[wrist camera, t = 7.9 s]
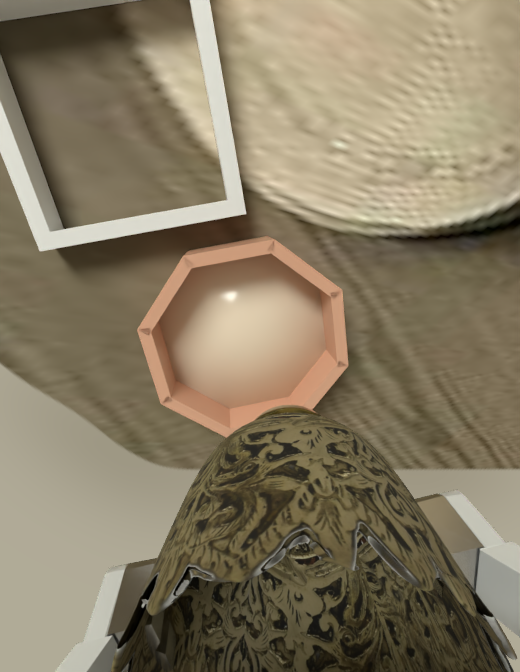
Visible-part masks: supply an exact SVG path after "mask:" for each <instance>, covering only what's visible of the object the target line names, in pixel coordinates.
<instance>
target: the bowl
mask: <svg viewBox="0 0 520 672" xmlns="http://www.w3.org/2000/svg"><path fill="white" fill-rule="evenodd" d="M137 331H138V334H139V337H140V340H141V343H142V346H143V349H144V352H145V356H146V359H147V362H148V365H149V368H150V371H151V374H152V377H153V380H154V384H155V387H156V390H157V393H158V396H159V399H160V402H161V404H162V405H164V406H166V407H168V408H170V409H172V410H174V411H176V412H178V413H180V414H182V415H183V416H185V417H187V418H189V419H191V420H193V421H195V422H197V423H199V424H201V425H203V426H205V427H207V428H209V429H211V430H213V431H215V432H217V433H219V434H221V435H223V436H225V437H228V436H229V435H231V434H232V433H233V432H234V431H236V430H237V429H239V428H241V427H242V426H244V425H246V424H248V423H250V422H252V421H254V420H255V419H256V418H257V417H258V416H259V415H261V414H262V413H263V412H265V411H266V410H269V409H271V408H273V407H276V406H281V405H299V406H303V407H306V408H309V409H311V410H312V409H313V408H314V407H315V406H316V404H317V403H318V402H319V401H320V400H321V398H322V397H323V396H324V395H325V394H326V392H327V391H328V390H329V389H330V387H331V386H332V385H333V384H334V383H335V381H336V380H337V379H338V378H339V377H340V375H341V374H342V373H343V372H344V370H345V369H346V368H347V367H348V354H347V342H346V330H345V318H344V305H343V293H342V289H340V288H339V287H338V286H336V285H335V284H334V283H332V282H331V281H330V280H328V279H327V278H326V277H324V276H323V275H321V274H320V273H319V272H317V271H316V270H315V269H313V268H312V267H311V266H309V265H308V264H307V263H305V262H304V261H303V260H301V259H300V258H299V257H297V256H296V255H295V254H293V253H292V252H291V251H289V250H288V249H287V248H285V247H284V246H283V245H281V244H280V243H279V242H277V241H276V240H275V239H272V238H270V237H268V236H264V237H259V238H253V239H248V240H242V241H237V242H231V243H226V244H221V245H215V246H210V247H204V248H199V249H194V250H189V251H188V252H187V253H186V254H185V255H184V256H183V257H182V259H181V260H180V262H179V264H178V265H177V267H176V268H175V270H174V272H173V273H172V275H171V276H170V278H169V280H168V281H167V283H166V284H165V286H164V288H163V289H162V291H161V292H160V294H159V296H158V297H157V299H156V301H155V302H154V304H153V305H152V307H151V309H150V310H149V312H148V313H147V315H146V317H145V318H144V320H143V321H142V323H141V325H140V326H139V328H138V329H137Z"/></svg>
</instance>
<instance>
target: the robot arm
mask: <svg viewBox="0 0 520 672" xmlns="http://www.w3.org/2000/svg"><path fill="white" fill-rule="evenodd" d="M415 501H416V502H417V504H418V505H419V507H420V508H421V510H422V511H423V513H424V514H425V516H426V517H427V519H428V520H429V522H430V523H431V525H432V526H433V528H434V529H435V531H436V532H437V534H438V535H439V537H440V538H441V540H442V541H443V543H444V544H445V546H446V547H447V549H448V550H449V552H450V554H451V555H452V557H453V558H454V560H455V561H456V563H457V564H458V566H459V567H460V569H461V570H462V572H463V573H464V575H465V576H466V578H467V580H468V581H469V583H470V584H471V586H472V587H473V589H474V590H475V592H476V593H477V594H478V596H479V597H480V599H481V600H482V602H483V603H484V604H485V606H486V607H487V608H488V609H489V611H490V612H491V613H492V614H493V615H494V617H495V618H496V619H498V620H499V621H500V622H501V623H503V624H504V625H505V626H506V627H508V628H509V629H510V630H511V631H513V632H514V633H515V634H516V635H518V636H519V637H520V546H519V545H518V544H516V543H514V542H505V541H504V540H503V539H502V537H501V536H500V535H499V534H498V533H497V532H496V531H495V530H494V528H493V527H492V526H491V525H490V524H489V523H488V522H487V520H486V519H485V518H484V517H483V516H482V515H481V514H480V513H479V511H478V510H477V509H476V508H475V507H474V506H473V505H472V503H470V501H469V500H468V499H467V498H466V497H465V495H464V494H463V493H462V492H460V491H459V490H453V491H449V492H445V493H440V494H434V495H430V496H425V497H421V498H417V499H415ZM156 561H157V558H155V559H150V560H145V561H139V562H134V563H129V564H125V565H120V566H115V567H111V568H109V570H108V571H107V573H106V574H105V576H104V579H103V582H102V585H101V589H100V592H99V595H98V598H97V601H96V604H95V607H94V610H93V613H92V616H91V619H90V622H89V625H88V628H87V631H86V634H85V637H84V640H83V642H80V643H77V644H76V645H75V647H74V648H73V649H72V650H71V651H70V653H69V654H68V655H67V657H66V658H65V659H64V661H63V662H62V663H61V664H60V666H59V667H58V668H57V669H56V671H55V672H111V668H112V663H113V659H114V655H115V652H116V648H117V645H118V643H119V641H120V639H121V637H122V635H123V634H124V632H125V630H126V628H127V626H128V624H129V622H130V620H131V618H132V615H133V613H134V611H135V609H136V607H137V604H138V602H139V599H140V597H141V595H142V592H143V590H144V588H145V586H146V583H147V581H148V579H149V576H150V574H151V572H152V570H153V567H154V565H155V563H156ZM157 577H158V574H157ZM157 577H156V580H155V585H156V581H157ZM155 585H154V586H152V589H151V591H150V594H149V596H148V598H147V600H149V598H150V596H151V594H152V592H153V589H154V587H155ZM434 588H435V589H436V591H437V592H438V594H439V595H440V597H441V598H442V596H443V591H444V584H443V582H441V581H440V580H438V579H435V582H434ZM146 605H147V604H145V606H144V608H143V611H142V613H141V615H140V618H139V620H138V623H137V625H136V628H135V630H136V629H137V627H138V625H139V623H140V621H141V619H142V617H143V614H144V612H145V610H146ZM164 612H165V610H163V611H162V612H160V613H159V614H157V615H150V614H149V617H148V619H147V622H146V625H145V632H146V639H147V643H148V646H149V649H150V651H151V653H152V655H153V657H154V658H155V660H156V661H157V663H158V664H159V665H160V666H161V668H162V669H163V670H164V671H165V672H170V671H173V664H174V655H175V646H176V635H175V633H174V630H173V628H172V625H171V623H170V621H169V619H168V617H167V615H165V617H164Z"/></svg>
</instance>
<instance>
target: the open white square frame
mask: <svg viewBox="0 0 520 672" xmlns="http://www.w3.org/2000/svg"><path fill="white" fill-rule="evenodd" d="M133 1H140V0H0V21H7V20H13V19H20V18H26V17H33V16H40V15H46V14H53V13H60V12H66V11H73V10H80V9H86V8H93V7H100V6H106V5H113V4H120V3H126V2H133ZM189 2H190V8H191V13H192V18H193V24H194V29H195V34H196V39H197V45H198V50H199V55H200V61H201V66H202V71H203V76H204V82H205V87H206V92H207V97H208V103H209V108H210V113H211V119H212V124H213V129H214V134H215V140H216V145H217V150H218V156H219V161H220V166H221V171H222V177H223V182H224V187H225V193H226V198H227V200H225V201H219V202H214V203H208V204H203V205H197V206H191V207H186V208H180V209H175V210H169V211H164V212H158V213H152V214H147V215H141V216H136V217H130V218H124V219H119V220H113V221H108V222H102V223H96V224H91V225H85V226H80V227H74V228H69V229H64V228H63V225H62V222H61V220H60V217H59V214H58V211H57V209H56V206H55V203H54V200H53V198H52V195H51V192H50V189H49V187H48V184H47V181H46V178H45V176H44V173H43V170H42V167H41V165H40V162H39V159H38V156H37V154H36V151H35V148H34V145H33V143H32V140H31V137H30V134H29V132H28V129H27V126H26V123H25V121H24V118H23V115H22V112H21V110H20V107H19V104H18V101H17V98H16V96H15V93H14V90H13V87H12V85H11V82H10V79H9V76H8V74H7V71H6V68H5V65H4V63H3V60H2V57H1V54H0V152H1V155H2V157H3V160H4V162H5V165H6V167H7V170H8V172H9V175H10V177H11V180H12V182H13V185H14V187H15V190H16V192H17V195H18V198H19V200H20V203H21V205H22V208H23V210H24V213H25V215H26V218H27V220H28V223H29V225H30V228H31V230H32V233H33V235H34V238H35V240H36V243H37V245H38V248H39V250H40V251H45V250H51V249H56V248H62V247H67V246H73V245H78V244H84V243H89V242H95V241H100V240H106V239H111V238H117V237H122V236H128V235H133V234H139V233H144V232H150V231H155V230H161V229H166V228H172V227H177V226H183V225H189V224H194V223H200V222H205V221H211V220H216V219H222V218H227V217H233V216H238V215H244V214H246V209H245V203H244V197H243V192H242V186H241V180H240V174H239V168H238V163H237V157H236V151H235V145H234V139H233V134H232V128H231V122H230V116H229V110H228V105H227V99H226V93H225V87H224V81H223V76H222V70H221V64H220V58H219V52H218V47H217V41H216V35H215V29H214V23H213V18H212V12H211V6H210V0H189Z"/></svg>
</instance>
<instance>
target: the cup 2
mask: <svg viewBox="0 0 520 672" xmlns="http://www.w3.org/2000/svg"><path fill="white" fill-rule="evenodd" d="M157 574H158V577H157ZM156 577H157V581H156V585H155V580H156ZM435 579H438V580H440V581H441V582H443V584H444V591H443V596H442V598H441V597H440V595H439V594H438V592H437V591H436V589H435V588H434V582H435ZM154 585H155V587H154V589H153V592H152V594H151V596H150V598H149V600H147V598H148V596H149V594H150V591H151V589H152V586H154ZM145 604H147V605H146V610H145V612H144V614H143V617H142V619H141V621H140V623H139V625H138V627H137V629H136V630H135V628H136V625H137V623H138V620H139V618H140V615H141V613H142V611H143V608H144V606H145ZM163 610H165V612H164V617H165V615H167V617H168V619H169V621H170V623H171V625H172V628H173V630H174V633H175V635H176V646H175V655H174V664H173V671H170V672H514V671H513V669H512V667H511V665H510V663H509V661H508V659H507V657H506V655H507V656H508V657H509V658H511V659H515V660H516V659H517V656H516V654H515V652H514V650H513V648H512V646H511V644H510V642H509V640H508V639H507V637H506V635H505V633H504V632H503V630H502V628H501V627H500V625H499V623H498V622H497V620H496V618H495V617H494V615H493V614H492V613H491V612H490V611H489V609H488V608H487V607H486V606H485V604H484V603H483V602H482V600H481V599H480V597H479V596H478V594H477V593H476V592H475V590H474V589H473V587H472V586H471V584H470V583H469V581H468V580H467V578H466V576H465V575H464V573H463V572H462V570H461V569H460V567H459V566H458V564H457V563H456V561H455V560H454V558H453V557H452V555H451V554H450V552H449V550H448V549H447V547H446V546H445V544H444V543H443V541H442V540H441V538H440V537H439V535H438V534H437V532H436V531H435V529H434V528H433V526H432V525H431V523H430V522H429V520H428V519H427V517H426V516H425V514H424V513H423V511H422V510H421V508H420V507H419V505H418V504H417V502H416V501H415V499H414V498H413V496H412V495H411V493H410V492H409V490H408V489H407V487H406V486H405V485H404V483H403V482H402V481H401V479H400V478H399V476H398V475H397V474H396V473H395V471H394V470H393V469H392V467H391V466H390V465H389V464H388V462H387V461H386V460H385V459H384V457H383V456H382V455H381V454H380V453H379V452H378V451H377V450H376V449H375V448H374V447H373V446H372V445H371V444H370V443H369V442H368V441H367V440H365V439H364V438H363V437H362V436H360V435H359V434H357V433H356V432H354V431H353V430H351V429H350V428H348V427H346V426H345V425H343V424H341V423H338V422H336V421H334V420H331V419H328V418H325V417H322V416H321V415H319V414H318V413H316V412H315V411H313V410H311V409H309V408H306V407H303V406H299V405H281V406H276V407H273V408H271V409H269V410H266V411H265V412H263V413H262V414H261V415H259V416H258V417H257V418H256V419H255V420H254V421H252V422H250V423H248V424H246V425H244V426H242V427H241V428H239V429H237V430H236V431H234V432H233V433H232V434H231V435H229V436H228V437H227V438H226V439H225V440H224V441H222V442H221V443H220V444H219V445H218V446H217V448H216V449H215V450H214V451H213V452H212V454H211V455H210V456H209V458H208V459H207V460H206V462H205V463H204V465H203V466H202V468H201V470H200V471H199V473H198V475H197V477H196V478H195V480H194V482H193V484H192V485H191V487H190V489H189V491H188V493H187V495H186V497H185V499H184V501H183V503H182V506H181V508H180V510H179V512H178V514H177V517H176V519H175V521H174V523H173V525H172V527H171V530H170V532H169V534H168V536H167V538H166V541H165V543H164V545H163V547H162V549H161V552H160V554H159V556H158V558H157V561H156V563H155V565H154V567H153V570H152V572H151V574H150V576H149V579H148V581H147V583H146V586H145V588H144V590H143V592H142V595H141V597H140V599H139V602H138V604H137V607H136V609H135V611H134V613H133V615H132V618H131V620H130V622H129V624H128V626H127V628H126V630H125V632H124V634H123V635H122V637H121V639H120V641H119V643H118V645H117V648H116V652H115V655H114V659H113V663H112V668H111V672H165V671H164V670H163V669H162V668H161V666H160V665H159V664H158V663H157V661H156V660H155V658H154V657H153V655H152V653H151V651H150V649H149V646H148V643H147V639H146V632H145V625H146V622H147V619H148V617H149V614H150V615H157V614H159V613H160V612H162V611H163ZM505 654H506V655H505Z"/></svg>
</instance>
